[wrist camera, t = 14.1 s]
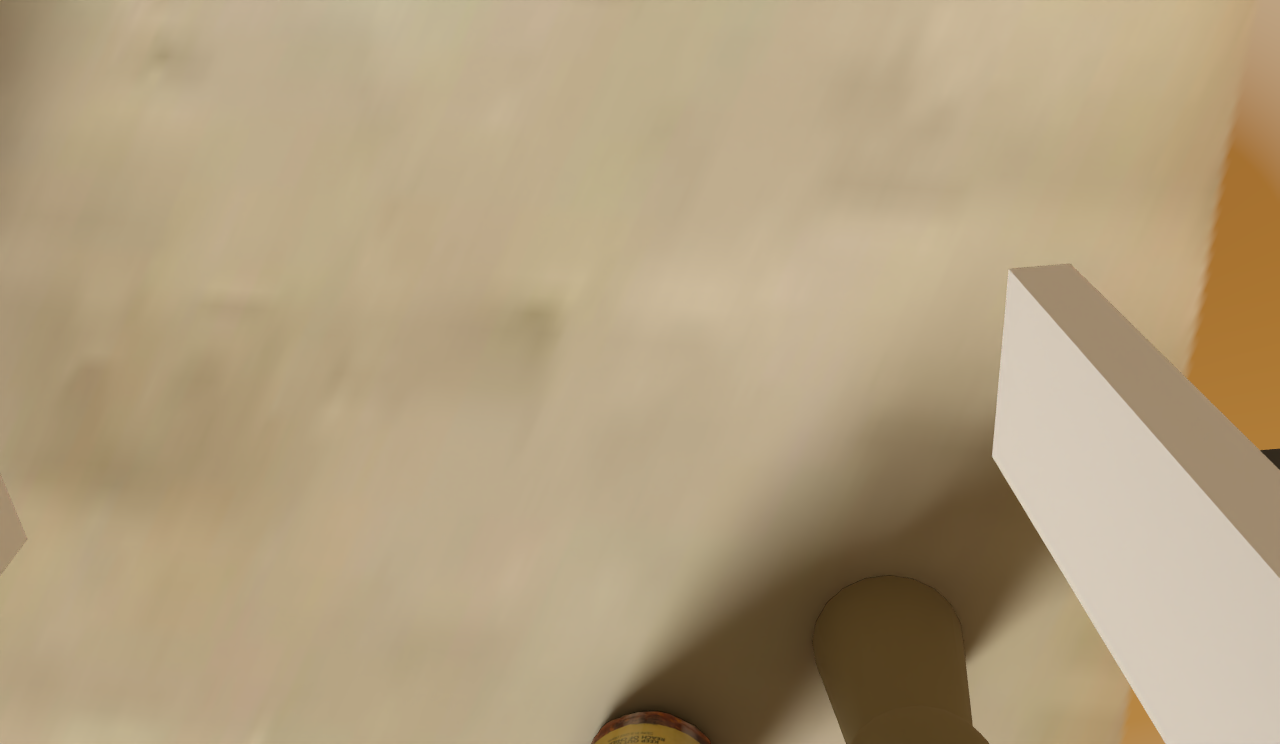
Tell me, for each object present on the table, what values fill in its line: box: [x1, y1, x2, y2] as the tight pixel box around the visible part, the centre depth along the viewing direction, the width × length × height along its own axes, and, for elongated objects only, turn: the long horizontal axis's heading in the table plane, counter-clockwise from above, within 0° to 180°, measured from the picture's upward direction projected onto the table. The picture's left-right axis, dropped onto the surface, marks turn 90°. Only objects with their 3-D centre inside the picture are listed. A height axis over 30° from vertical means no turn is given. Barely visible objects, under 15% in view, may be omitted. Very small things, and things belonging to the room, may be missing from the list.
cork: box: [812, 575, 989, 744], centre depth 40 cm, size 6×6×11 cm
